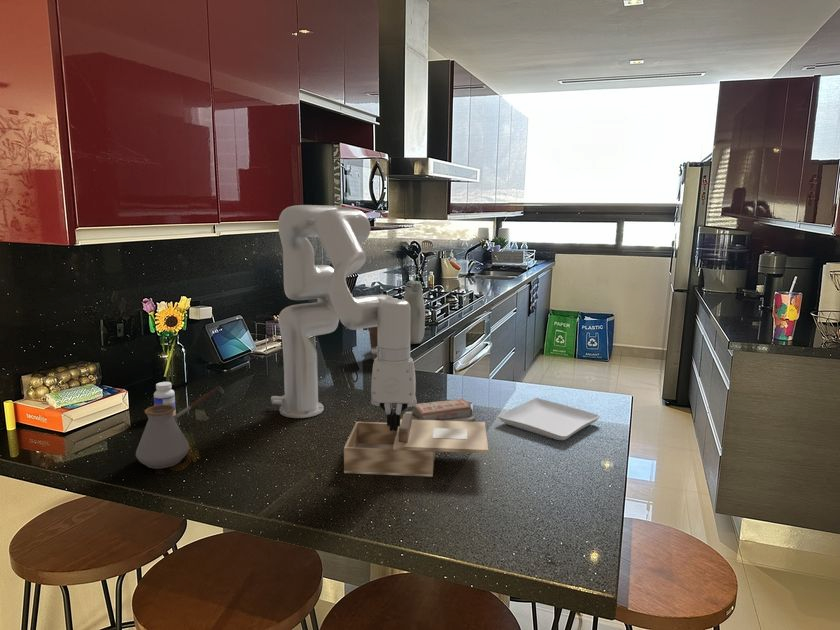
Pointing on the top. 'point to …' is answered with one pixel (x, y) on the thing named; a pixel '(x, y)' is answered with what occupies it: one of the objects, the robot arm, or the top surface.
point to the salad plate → (548, 418)
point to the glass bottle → (415, 310)
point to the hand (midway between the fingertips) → (393, 428)
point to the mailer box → (383, 453)
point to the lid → (440, 436)
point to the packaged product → (443, 411)
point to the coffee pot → (164, 436)
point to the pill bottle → (164, 395)
